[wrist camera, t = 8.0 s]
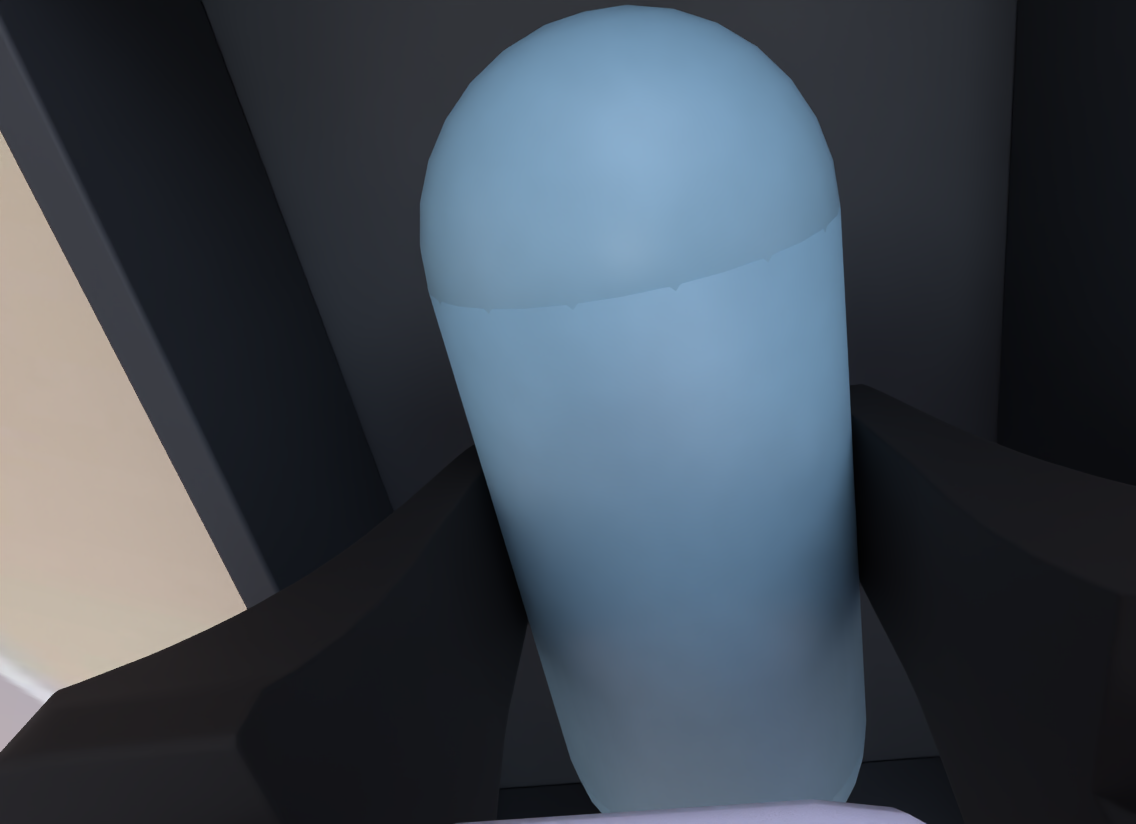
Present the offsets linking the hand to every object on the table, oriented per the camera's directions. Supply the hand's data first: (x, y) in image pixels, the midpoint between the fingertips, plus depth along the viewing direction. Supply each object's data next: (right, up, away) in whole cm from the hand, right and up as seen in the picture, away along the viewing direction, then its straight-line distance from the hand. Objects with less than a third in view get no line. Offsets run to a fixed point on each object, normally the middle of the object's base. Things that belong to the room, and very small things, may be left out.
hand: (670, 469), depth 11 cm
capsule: (0, +1, +1) cm, 1 cm away
